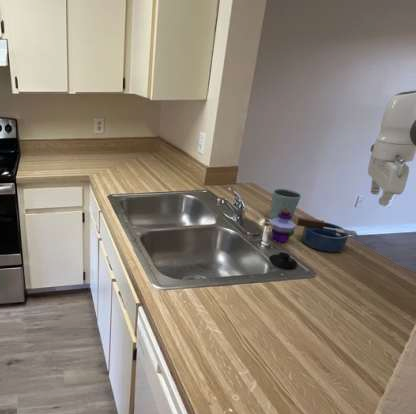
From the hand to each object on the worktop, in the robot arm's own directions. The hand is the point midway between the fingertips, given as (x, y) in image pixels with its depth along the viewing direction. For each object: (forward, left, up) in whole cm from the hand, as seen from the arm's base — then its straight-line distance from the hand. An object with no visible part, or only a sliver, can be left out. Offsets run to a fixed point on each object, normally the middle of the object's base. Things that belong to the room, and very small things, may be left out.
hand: (378, 198), depth 96 cm
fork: (+8, -15, -18) cm, 25 cm away
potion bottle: (+21, -12, -25) cm, 34 cm away
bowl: (+7, -15, -24) cm, 29 cm away
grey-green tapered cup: (+20, -32, -25) cm, 45 cm away
